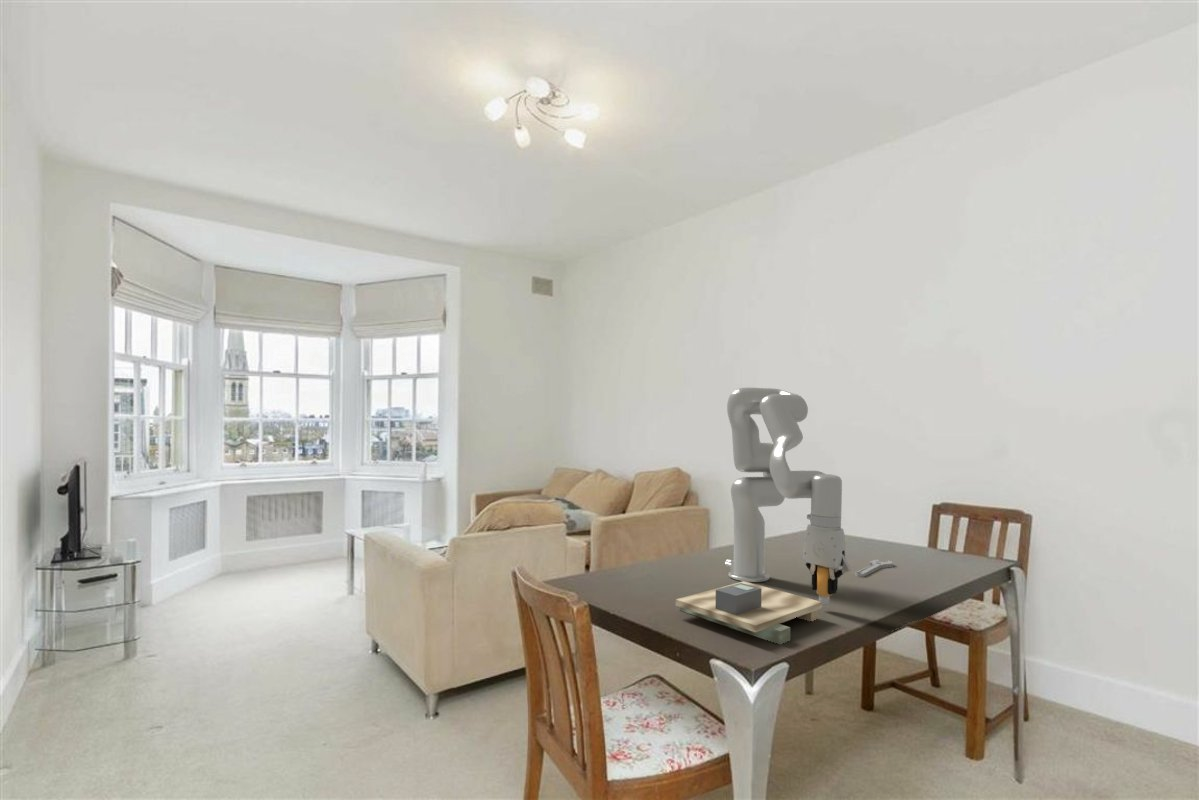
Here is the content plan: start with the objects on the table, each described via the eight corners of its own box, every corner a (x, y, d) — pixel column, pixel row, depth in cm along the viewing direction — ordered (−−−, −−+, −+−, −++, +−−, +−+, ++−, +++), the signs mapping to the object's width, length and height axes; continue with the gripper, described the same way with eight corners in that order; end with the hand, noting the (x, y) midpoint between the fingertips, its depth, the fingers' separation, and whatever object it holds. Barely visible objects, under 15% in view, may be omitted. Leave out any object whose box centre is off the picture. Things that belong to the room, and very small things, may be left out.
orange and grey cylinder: (813, 602, 160) (814, 566, 160) (821, 599, 162) (822, 564, 162) (827, 606, 157) (827, 569, 157) (834, 603, 159) (835, 567, 159)
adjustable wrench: (862, 579, 194) (862, 573, 194) (842, 575, 199) (842, 569, 199) (895, 566, 210) (895, 561, 210) (876, 563, 215) (876, 558, 215)
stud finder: (715, 608, 145) (715, 589, 146) (741, 601, 152) (741, 582, 152) (735, 615, 141) (736, 595, 141) (761, 607, 147) (761, 587, 147)
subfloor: (666, 614, 155) (666, 596, 155) (734, 594, 173) (734, 578, 173) (767, 650, 132) (767, 629, 132) (833, 623, 150) (833, 604, 150)
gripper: (789, 518, 164) (788, 586, 163) (848, 528, 151) (847, 602, 151) (805, 515, 168) (803, 581, 168) (863, 525, 156) (862, 596, 156)
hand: (824, 590), depth 159 cm, fingers closed on orange and grey cylinder, 3 cm apart
